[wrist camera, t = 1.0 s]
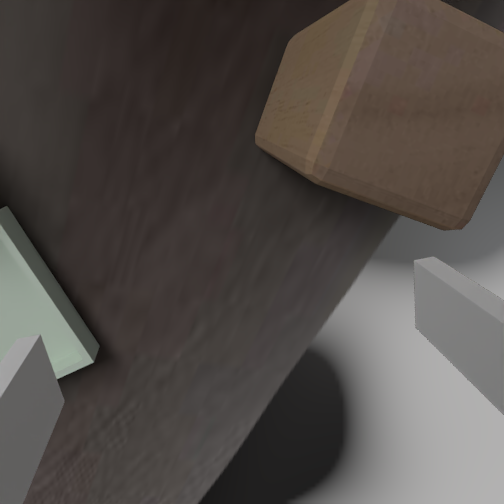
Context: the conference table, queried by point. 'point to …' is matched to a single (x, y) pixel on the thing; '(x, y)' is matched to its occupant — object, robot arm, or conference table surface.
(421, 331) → the robot arm
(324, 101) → the block
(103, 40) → the conference table surface
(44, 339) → the sage tray
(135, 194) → the conference table surface
